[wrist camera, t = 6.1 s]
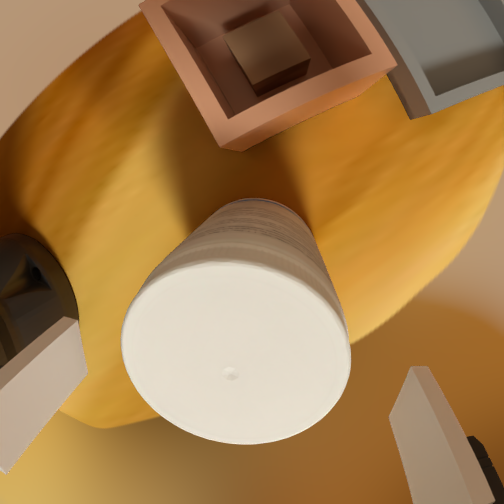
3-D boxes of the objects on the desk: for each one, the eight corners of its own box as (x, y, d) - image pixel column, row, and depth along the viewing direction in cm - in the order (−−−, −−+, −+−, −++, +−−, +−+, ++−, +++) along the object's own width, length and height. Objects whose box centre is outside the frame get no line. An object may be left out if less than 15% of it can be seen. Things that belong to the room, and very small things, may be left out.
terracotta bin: (242, 152, 23) (219, 147, 15) (183, 49, 21) (138, 5, 13) (358, 96, 21) (397, 64, 13) (293, -3, 19) (297, -67, 11)
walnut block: (257, 97, 21) (252, 84, 17) (231, 54, 20) (222, 36, 16) (306, 74, 20) (311, 57, 16) (279, 32, 19) (278, 10, 16)
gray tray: (410, 119, 21) (431, 113, 17) (316, -28, 18) (320, -53, 14) (519, 76, 18) (543, 70, 14) (439, -50, 15) (454, -68, 11)
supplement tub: (179, 223, 25) (73, 296, 11) (291, 177, 24) (306, 202, 9) (227, 325, 28) (184, 458, 13) (332, 290, 26) (375, 419, 12)
